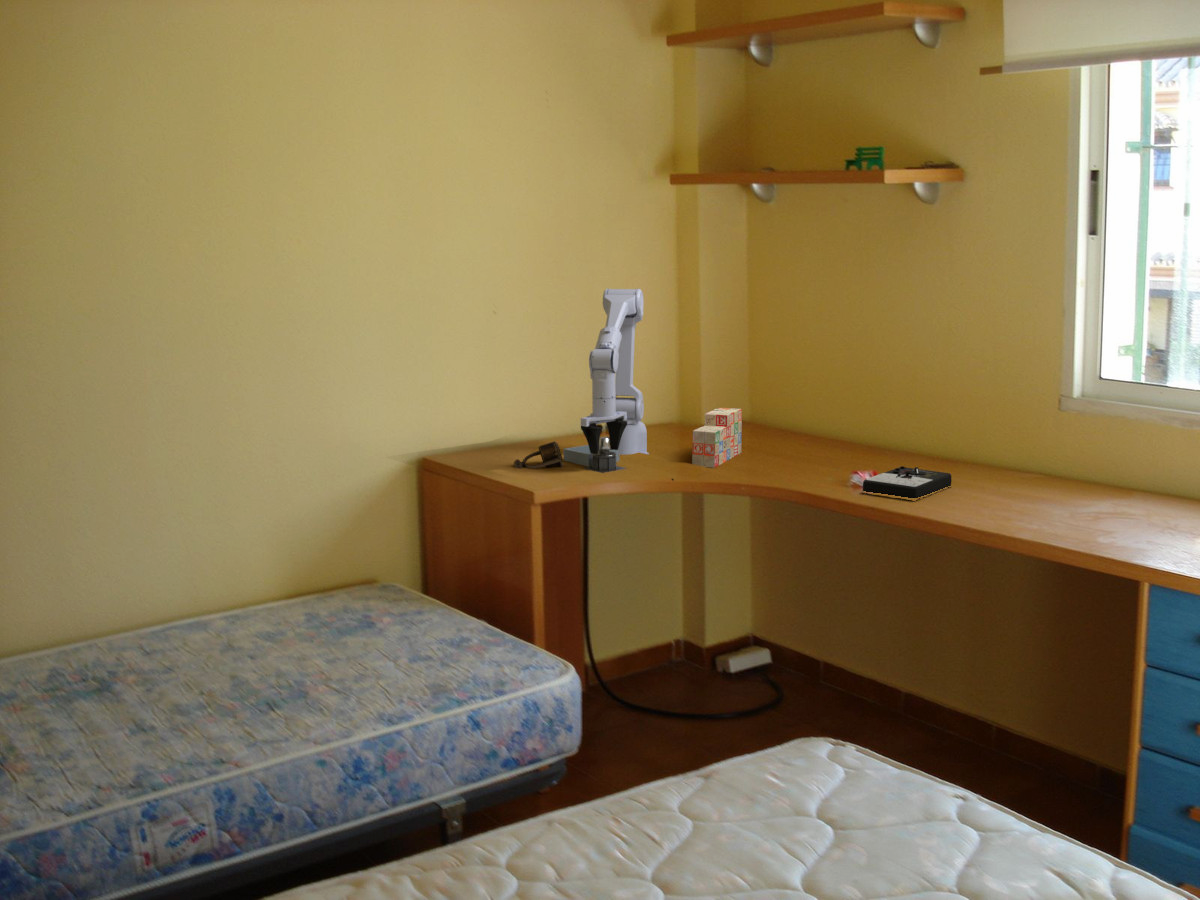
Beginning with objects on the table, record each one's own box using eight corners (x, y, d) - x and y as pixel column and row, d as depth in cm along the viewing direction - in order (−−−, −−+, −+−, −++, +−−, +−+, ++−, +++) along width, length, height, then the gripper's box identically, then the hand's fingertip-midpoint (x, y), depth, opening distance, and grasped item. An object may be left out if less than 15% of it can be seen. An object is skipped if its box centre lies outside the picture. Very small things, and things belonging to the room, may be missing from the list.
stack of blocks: (715, 468, 311) (715, 420, 308) (691, 466, 313) (692, 418, 311) (741, 453, 330) (742, 408, 328) (719, 451, 332) (720, 406, 330)
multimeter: (951, 488, 288) (952, 467, 287) (915, 503, 273) (915, 481, 272) (900, 481, 296) (900, 460, 295) (861, 495, 281) (862, 474, 280)
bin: (594, 458, 323) (594, 443, 323) (619, 464, 316) (619, 449, 315) (563, 464, 317) (563, 448, 316) (588, 470, 309) (588, 454, 309)
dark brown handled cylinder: (561, 453, 303) (569, 437, 312) (511, 447, 305) (520, 432, 314) (560, 479, 306) (568, 463, 315) (510, 473, 308) (520, 457, 317)
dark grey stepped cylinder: (606, 464, 311) (605, 434, 309) (620, 468, 306) (620, 437, 305) (588, 467, 307) (587, 437, 306) (602, 471, 303) (602, 440, 301)
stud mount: (606, 467, 312) (606, 453, 312) (627, 472, 306) (627, 458, 306) (582, 471, 307) (581, 457, 307) (602, 476, 301) (602, 462, 301)
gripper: (612, 392, 311) (612, 445, 314) (571, 399, 301) (572, 453, 304) (633, 395, 306) (633, 448, 309) (592, 401, 296) (592, 457, 299)
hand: (604, 451), depth 306 cm, fingers open, 7 cm apart
